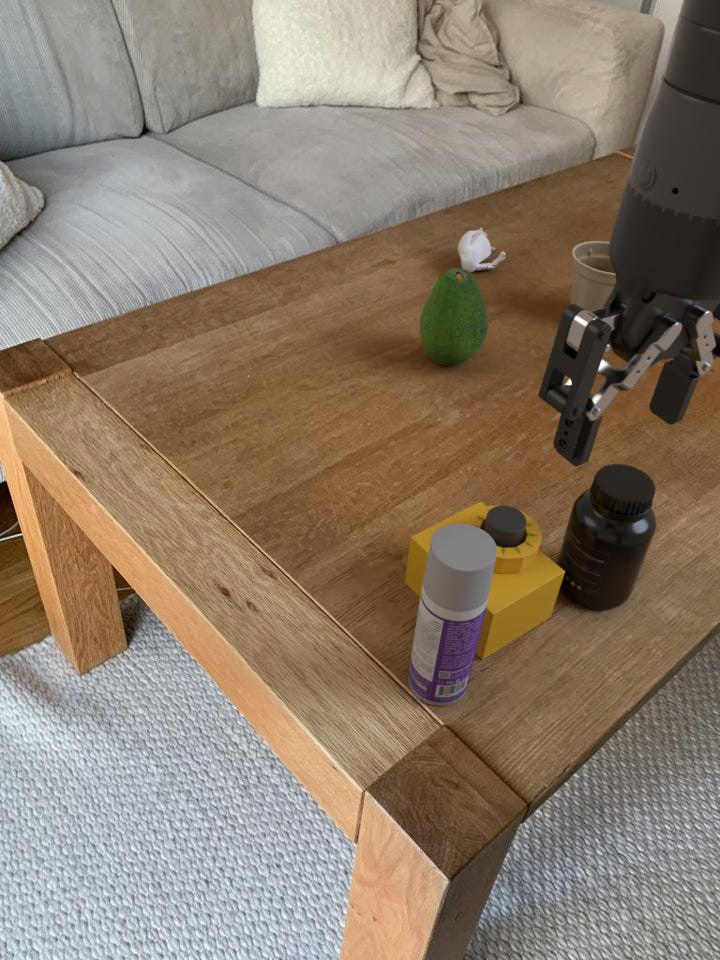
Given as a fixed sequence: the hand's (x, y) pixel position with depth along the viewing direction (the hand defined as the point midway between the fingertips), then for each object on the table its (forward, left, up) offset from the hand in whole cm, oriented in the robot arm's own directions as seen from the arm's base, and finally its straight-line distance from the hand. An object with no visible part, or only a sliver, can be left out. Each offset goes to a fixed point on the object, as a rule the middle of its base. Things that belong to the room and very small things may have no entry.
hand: (618, 436), depth 52 cm
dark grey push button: (+8, -1, -16) cm, 17 cm away
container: (+3, +9, -23) cm, 25 cm away
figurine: (+55, -43, -23) cm, 73 cm away
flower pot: (+36, -46, -23) cm, 63 cm away
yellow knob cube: (+8, +1, -23) cm, 24 cm away
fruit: (+38, -22, -23) cm, 49 cm away
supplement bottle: (+3, -9, -23) cm, 25 cm away
